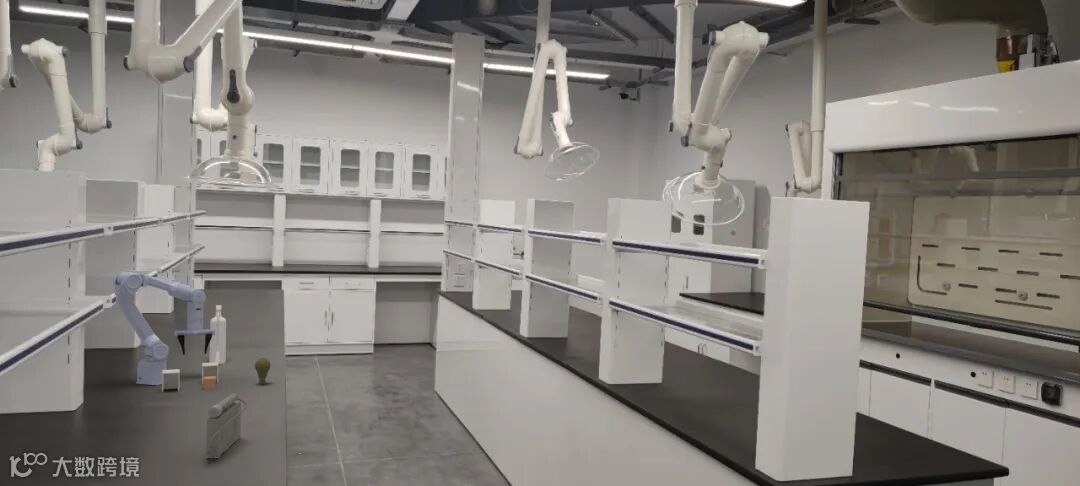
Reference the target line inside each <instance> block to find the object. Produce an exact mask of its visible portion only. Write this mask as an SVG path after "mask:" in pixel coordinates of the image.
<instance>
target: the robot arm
mask: <svg viewBox="0 0 1080 486" xmlns="http://www.w3.org/2000/svg"><path fill="white" fill-rule="evenodd" d="M113 284H114V285H113V286H114V296H115V295H116V301H115V300H114V302H115V303H116V305H117V306H118V309H119V310H120V311H121V312H122V315H123V316H124V317H125V318H126V321H128V323H129V324H130V326H131V327H132V329H133V330H134V333H136V335H137V336H138V338H139V339H140V340H139V341H140V344H141V346H142V351H143V354H144V355H145V357H144V358H142V359H140V360H139V362H138V363H137V368H136V369H137V371H136V372H137V373H136V374H137V376H136V379H137V380H136V382H135V384H136V385H147V386H148V385H151V386H160V385H162V372H163V370H167V357H168V355H169V353H170V348H169V346H168V345H167V344H165V343H163V342H162V340H161V339H160V338H159V337H158V335H156V334H155V332H154V331H153V330H152V328H151V326H150V325H149V323H148V322H147V320H146V319H145V317H144V315H143V314H142V313H141V311H140V309H139V308H138V306H137V305H136V303H135V301H134V300H133V299H134V297H135V296H134V295H135V294H136V292H137V291H138V290H139V289H140V288H141V287H142V288H143V287H153V288H156V289H160V290H164V291H166V292H167V294H168V296H170V297H174V298H176V299H180V300H182V301H186V302H187V310H186V311H187V313H186V314H187V315H186V316H187V317H186V324H187V325H186V329H183V330H182V329H181V330H179V329H178V330H174V333H173V334H174V337H177V340H178V342H179V345H180V347H181V351H182V355H183V356H184V355H186V347H185V337H187V336H190V337H191V336H205V338H204V340H205V341H204V351H203V352H204V354H207V352H208V348H209V346H210V340H211V339H212V335H215V330H210V329H204V303H205V301H206V300H207V295H206V293H205V292H204V290H202V289H199V288H195V286H193V285H187V284H184V283H183V282H182V281H181V280H178V281H173V282H167V281H165V280H162V279H159V278H157V277H154V276H152V275H150V274H149V275H148V274H144V273H138V272H131V271H129V270H122V271H120V272H118V274H116V276H115V279H114V280H113Z"/></svg>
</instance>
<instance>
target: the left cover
mask: <svg viewBox="0 0 1080 486" xmlns="http://www.w3.org/2000/svg"><path fill="white" fill-rule="evenodd" d="M180 372H181V370H180V368H179V369H166V370H163V372H162V384H161V393H164V390H171V389H173V390H174V389H177V392H180V389H181V386H180V383H181V382H180V380H181V379H180V378H181V376H180V374H181V373H180Z"/></svg>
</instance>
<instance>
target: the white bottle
mask: <svg viewBox="0 0 1080 486" xmlns="http://www.w3.org/2000/svg"><path fill="white" fill-rule="evenodd" d="M222 308H223V305H221V304H216V305H215V316H214V317H212V318H210V321H209V326H210V327H209V330H215V335H212V339H211V340H210V343H209V363H213V362H218V365H221V364H225V363H226V362H227V361H226V359H227V354H226V353H227V319H226V318H225V317H223V315H222Z"/></svg>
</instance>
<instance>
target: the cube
mask: <svg viewBox="0 0 1080 486" xmlns="http://www.w3.org/2000/svg"><path fill="white" fill-rule="evenodd" d="M216 387H217V380H216V376H209V377H204V381H203V390H216V389H217V388H216Z"/></svg>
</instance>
